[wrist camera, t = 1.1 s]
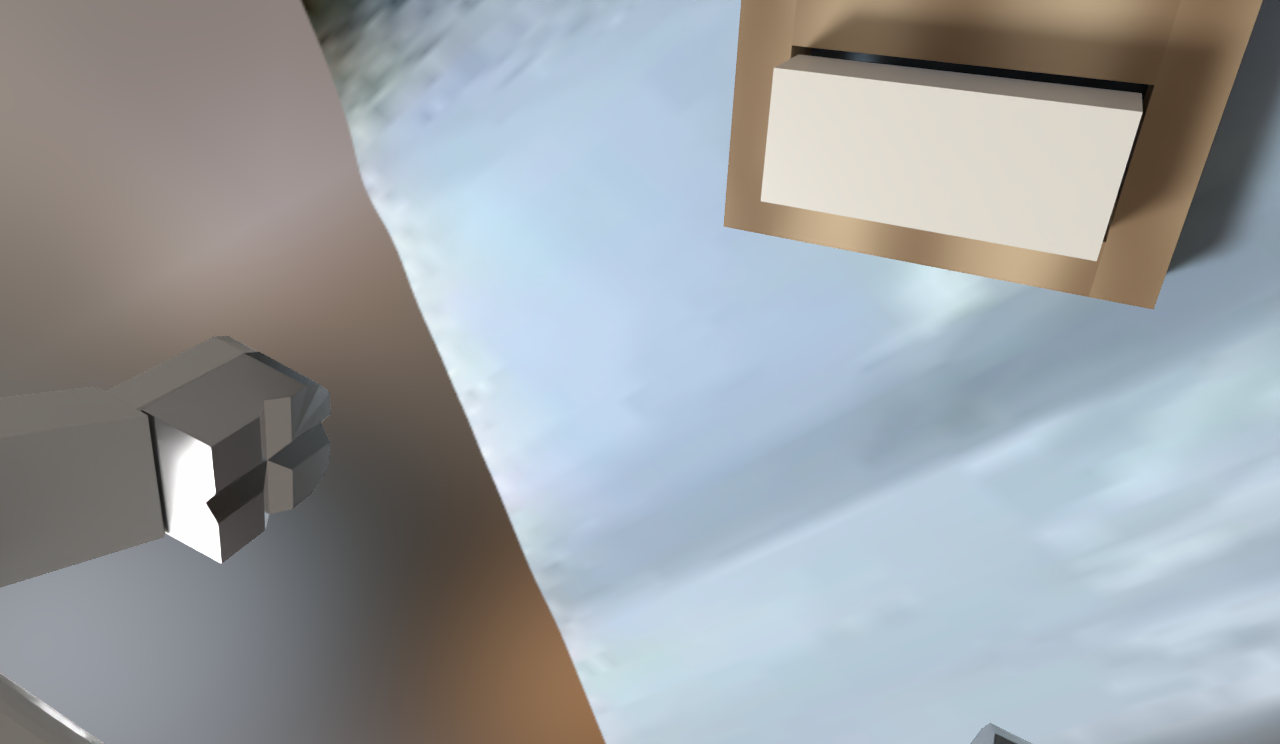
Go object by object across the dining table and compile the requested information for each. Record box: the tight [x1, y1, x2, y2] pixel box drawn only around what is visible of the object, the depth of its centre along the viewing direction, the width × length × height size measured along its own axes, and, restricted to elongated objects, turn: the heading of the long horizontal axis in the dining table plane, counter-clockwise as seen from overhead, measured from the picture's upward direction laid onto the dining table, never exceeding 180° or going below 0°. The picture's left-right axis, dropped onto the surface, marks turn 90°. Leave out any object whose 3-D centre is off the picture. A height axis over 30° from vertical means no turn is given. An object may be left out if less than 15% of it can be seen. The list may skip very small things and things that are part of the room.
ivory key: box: [761, 54, 1143, 261], centre depth 32 cm, size 12×5×3 cm, turn 89°
